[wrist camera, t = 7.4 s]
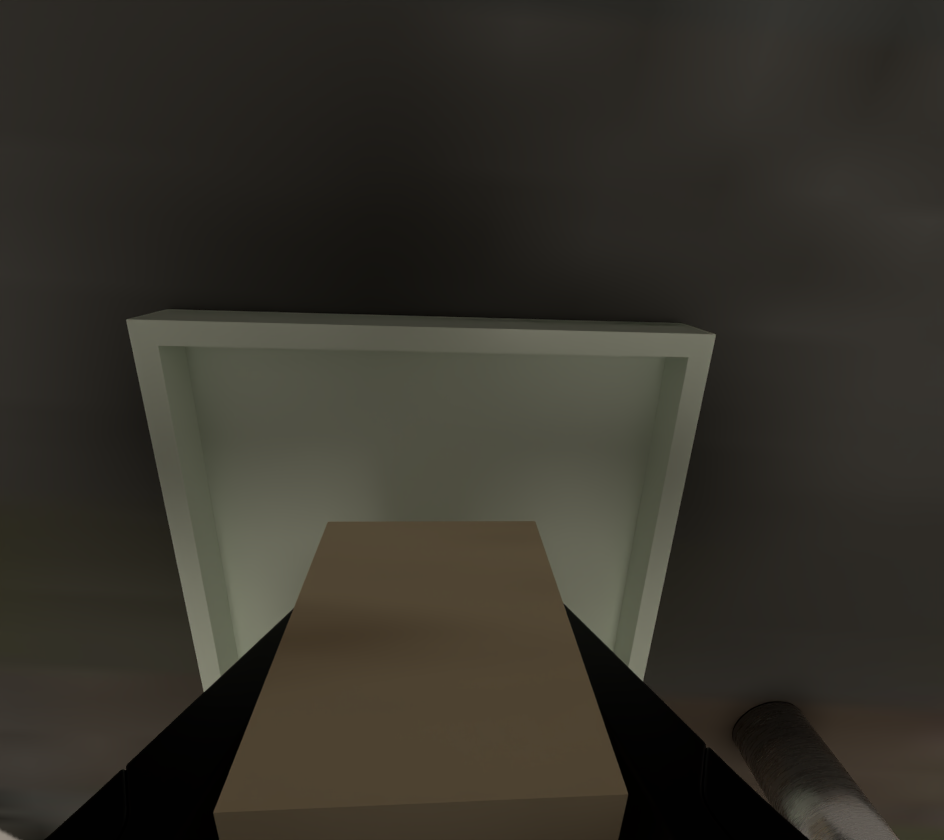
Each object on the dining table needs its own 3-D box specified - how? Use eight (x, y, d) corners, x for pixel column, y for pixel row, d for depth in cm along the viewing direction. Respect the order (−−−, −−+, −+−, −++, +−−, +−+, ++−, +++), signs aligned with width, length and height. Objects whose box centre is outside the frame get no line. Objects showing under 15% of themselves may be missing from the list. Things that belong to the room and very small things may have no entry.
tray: (592, 809, 21) (605, 858, 20) (259, 825, 20) (242, 879, 18) (682, 322, 14) (715, 334, 12) (167, 309, 13) (125, 319, 11)
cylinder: (792, 752, 21) (923, 942, 15) (725, 755, 21) (834, 948, 15) (812, 701, 20) (960, 883, 14) (741, 703, 20) (864, 890, 14)
